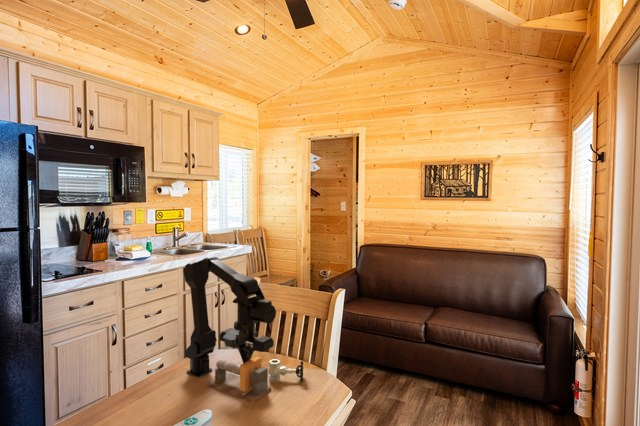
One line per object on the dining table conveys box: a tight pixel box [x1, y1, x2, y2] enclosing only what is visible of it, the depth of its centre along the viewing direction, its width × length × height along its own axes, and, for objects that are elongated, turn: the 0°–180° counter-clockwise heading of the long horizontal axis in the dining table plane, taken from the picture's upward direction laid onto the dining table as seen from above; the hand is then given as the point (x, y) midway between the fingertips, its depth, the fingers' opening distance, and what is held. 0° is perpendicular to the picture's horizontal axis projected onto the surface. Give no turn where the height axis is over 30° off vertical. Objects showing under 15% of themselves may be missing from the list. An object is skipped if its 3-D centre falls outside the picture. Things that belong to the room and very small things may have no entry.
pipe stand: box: [206, 358, 272, 403], centre depth 125 cm, size 20×9×8 cm, turn 59°
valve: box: [268, 358, 304, 383], centre depth 131 cm, size 7×7×12 cm
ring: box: [239, 356, 262, 392], centre depth 123 cm, size 2×8×8 cm, turn 149°
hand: (245, 365), depth 124 cm, fingers closed
